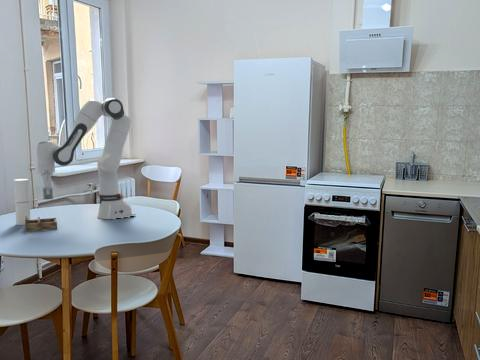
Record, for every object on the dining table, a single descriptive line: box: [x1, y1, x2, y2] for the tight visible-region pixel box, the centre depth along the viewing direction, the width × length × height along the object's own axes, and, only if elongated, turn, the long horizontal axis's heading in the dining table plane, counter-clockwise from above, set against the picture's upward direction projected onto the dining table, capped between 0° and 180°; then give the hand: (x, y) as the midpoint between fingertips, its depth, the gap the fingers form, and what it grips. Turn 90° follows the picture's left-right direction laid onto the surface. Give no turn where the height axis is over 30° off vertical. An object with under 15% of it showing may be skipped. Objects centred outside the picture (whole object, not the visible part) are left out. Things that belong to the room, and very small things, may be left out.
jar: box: [42, 186, 54, 200], centre depth 233 cm, size 5×5×6 cm
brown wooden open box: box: [24, 216, 58, 233], centre depth 220 cm, size 15×10×7 cm, turn 117°
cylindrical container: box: [13, 178, 31, 226], centre depth 228 cm, size 7×7×25 cm
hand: (48, 193), depth 233 cm, fingers closed on jar, 5 cm apart
